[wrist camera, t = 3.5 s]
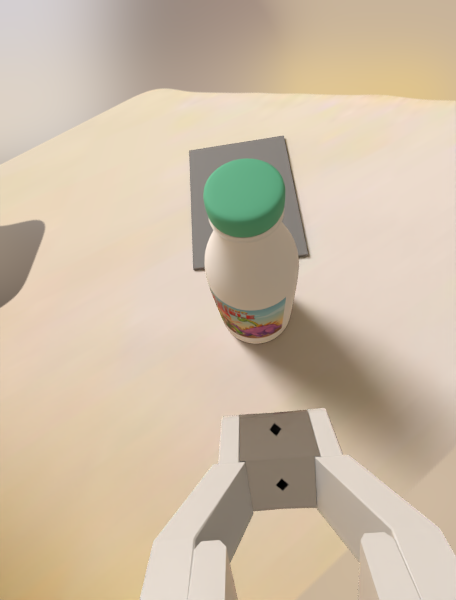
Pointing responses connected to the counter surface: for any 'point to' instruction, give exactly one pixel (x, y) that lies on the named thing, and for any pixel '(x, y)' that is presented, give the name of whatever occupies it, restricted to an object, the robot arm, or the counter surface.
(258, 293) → the milk bottle
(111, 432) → the counter surface
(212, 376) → the counter surface
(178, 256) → the counter surface
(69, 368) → the counter surface
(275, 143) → the mat
